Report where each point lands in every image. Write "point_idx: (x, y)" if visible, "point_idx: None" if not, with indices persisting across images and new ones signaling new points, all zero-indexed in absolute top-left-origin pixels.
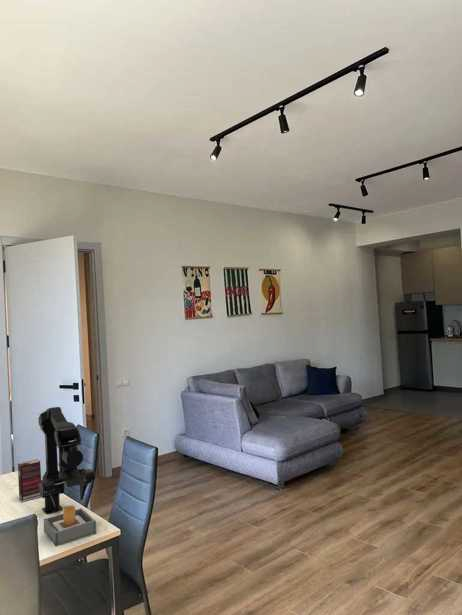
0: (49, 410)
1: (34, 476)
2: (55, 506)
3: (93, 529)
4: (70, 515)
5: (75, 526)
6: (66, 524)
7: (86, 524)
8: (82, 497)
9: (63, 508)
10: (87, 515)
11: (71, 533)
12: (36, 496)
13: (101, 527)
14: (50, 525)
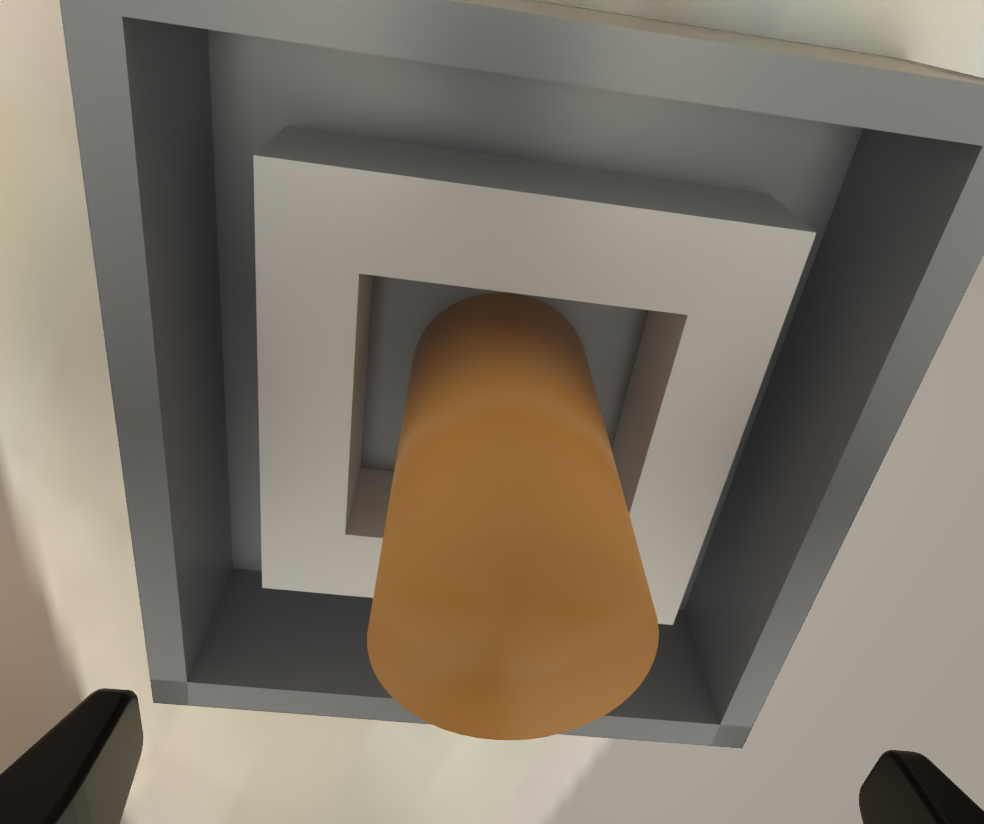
0: None
1: None
2: (950, 783)
3: None
4: (537, 446)
5: (584, 52)
6: (591, 392)
7: None
8: (50, 762)
9: (619, 699)
10: (150, 386)
11: (672, 29)
12: None
13: (17, 111)
14: (842, 503)
